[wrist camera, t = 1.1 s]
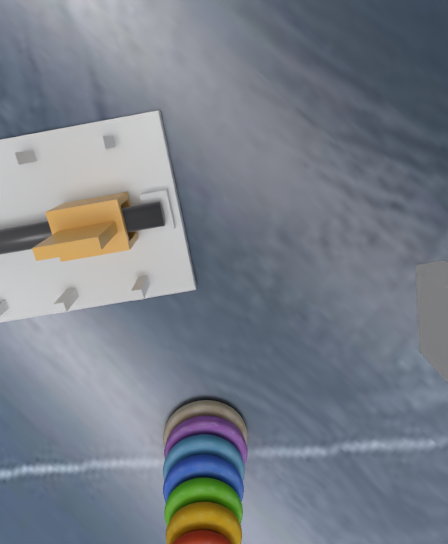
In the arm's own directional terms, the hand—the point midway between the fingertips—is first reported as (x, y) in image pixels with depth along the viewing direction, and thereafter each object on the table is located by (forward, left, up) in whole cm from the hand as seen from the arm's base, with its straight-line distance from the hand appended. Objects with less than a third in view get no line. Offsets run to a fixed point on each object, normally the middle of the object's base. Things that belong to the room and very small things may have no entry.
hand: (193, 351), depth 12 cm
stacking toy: (+4, +21, -23) cm, 32 cm away
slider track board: (+15, -1, -23) cm, 27 cm away
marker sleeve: (+8, -1, -21) cm, 23 cm away
